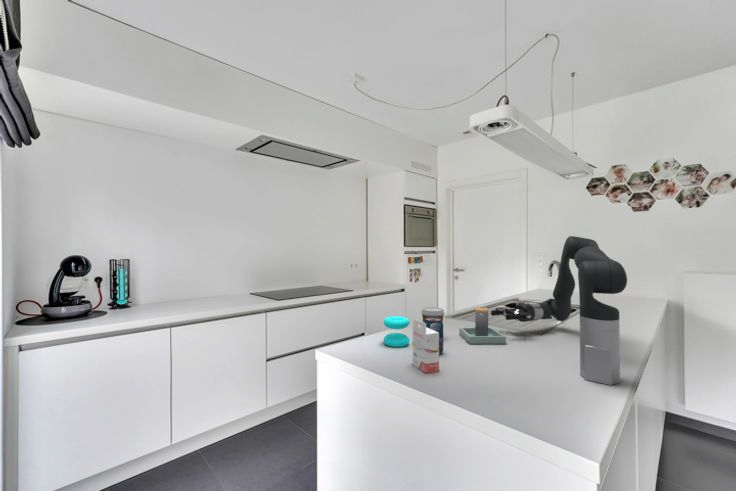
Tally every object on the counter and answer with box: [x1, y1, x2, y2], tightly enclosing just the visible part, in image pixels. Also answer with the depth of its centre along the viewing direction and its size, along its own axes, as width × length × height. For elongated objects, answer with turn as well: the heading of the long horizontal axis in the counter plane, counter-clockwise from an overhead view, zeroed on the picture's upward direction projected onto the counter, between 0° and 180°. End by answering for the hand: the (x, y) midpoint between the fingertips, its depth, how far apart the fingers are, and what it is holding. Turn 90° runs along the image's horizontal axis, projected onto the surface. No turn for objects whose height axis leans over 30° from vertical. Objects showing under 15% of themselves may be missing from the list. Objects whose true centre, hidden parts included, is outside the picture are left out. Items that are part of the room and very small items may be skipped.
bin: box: [458, 327, 507, 346], centre depth 129 cm, size 14×14×3 cm
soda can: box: [424, 317, 444, 356], centre depth 113 cm, size 7×7×12 cm
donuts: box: [382, 315, 410, 348], centre depth 123 cm, size 10×10×10 cm
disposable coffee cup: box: [420, 306, 446, 324], centre depth 131 cm, size 10×10×12 cm
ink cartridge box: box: [412, 318, 440, 374], centre depth 99 cm, size 9×5×15 cm, turn 21°
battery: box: [474, 305, 489, 336], centre depth 129 cm, size 5×5×13 cm
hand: (498, 315), depth 132 cm, fingers open, 8 cm apart
